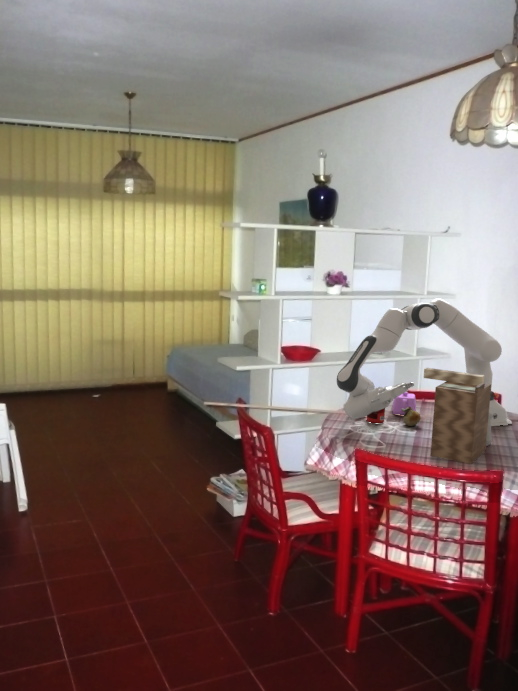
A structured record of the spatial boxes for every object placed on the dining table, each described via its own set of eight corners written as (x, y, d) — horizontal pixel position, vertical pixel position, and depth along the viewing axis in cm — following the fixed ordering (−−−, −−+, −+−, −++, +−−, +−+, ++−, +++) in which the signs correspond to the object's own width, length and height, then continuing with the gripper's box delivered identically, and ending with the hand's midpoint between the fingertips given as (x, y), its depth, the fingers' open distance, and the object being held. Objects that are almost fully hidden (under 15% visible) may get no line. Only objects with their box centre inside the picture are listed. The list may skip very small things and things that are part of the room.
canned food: (383, 419, 297) (384, 395, 295) (384, 424, 289) (386, 399, 287) (365, 418, 298) (367, 394, 296) (366, 423, 290) (368, 398, 288)
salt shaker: (473, 442, 268) (476, 410, 266) (487, 442, 269) (490, 410, 267) (479, 446, 263) (482, 414, 261) (494, 446, 263) (496, 414, 261)
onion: (404, 428, 285) (406, 409, 284) (399, 422, 293) (400, 405, 292) (422, 428, 286) (423, 410, 284) (416, 423, 294) (418, 405, 292)
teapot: (392, 407, 319) (394, 386, 318) (415, 409, 317) (417, 388, 315) (391, 417, 302) (392, 395, 300) (415, 419, 300) (417, 397, 298)
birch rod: (423, 377, 261) (424, 369, 261) (426, 376, 264) (427, 367, 264) (481, 386, 250) (482, 376, 249) (483, 384, 253) (484, 375, 252)
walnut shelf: (430, 455, 250) (436, 381, 245) (446, 442, 266) (452, 373, 262) (471, 464, 242) (477, 387, 237) (485, 450, 258) (491, 378, 254)
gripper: (366, 395, 266) (396, 383, 258) (385, 386, 283) (414, 374, 275) (372, 410, 265) (403, 398, 257) (392, 400, 282) (420, 388, 275)
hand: (409, 385), depth 267 cm, fingers open, 8 cm apart
